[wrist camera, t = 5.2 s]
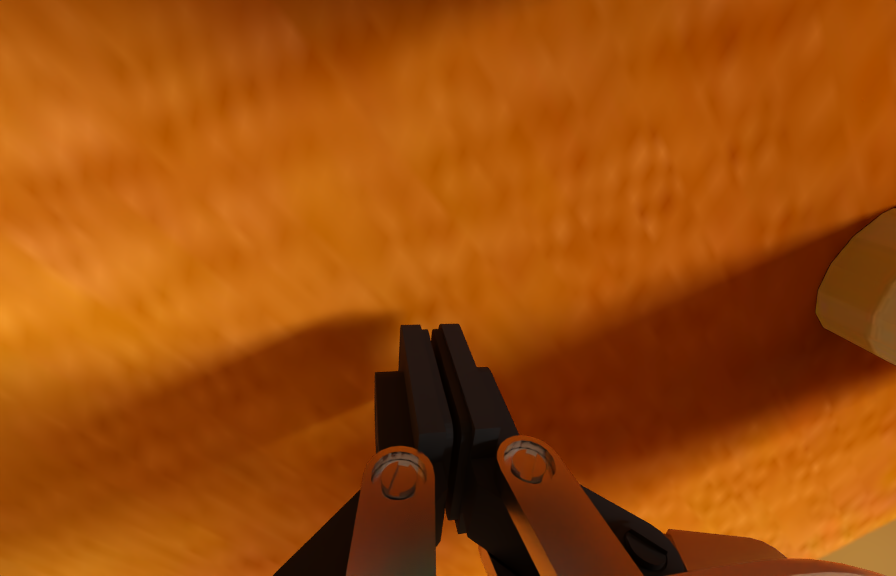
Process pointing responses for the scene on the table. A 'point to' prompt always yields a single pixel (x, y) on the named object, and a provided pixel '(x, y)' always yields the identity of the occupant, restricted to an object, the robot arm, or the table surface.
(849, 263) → the book
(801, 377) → the table surface
